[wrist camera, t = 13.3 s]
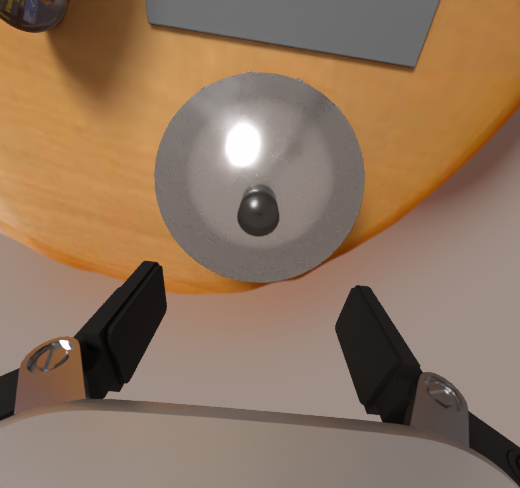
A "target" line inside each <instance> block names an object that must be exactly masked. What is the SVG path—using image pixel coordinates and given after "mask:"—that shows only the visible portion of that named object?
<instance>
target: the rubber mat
mask: <svg viewBox="0 0 520 488" xmlns="http://www.w3.org/2000/svg"><path fill="white" fill-rule="evenodd" d="M438 3H439V0H146V8H147V19H148V23H149V24H154V25H160V26H166V27H172V28H178V29H184V30H190V31H196V32H202V33H208V34H214V35H220V36H226V37H232V38H238V39H244V40H250V41H256V42H262V43H268V44H274V45H280V46H286V47H292V48H298V49H304V50H310V51H316V52H322V53H328V54H334V55H340V56H346V57H352V58H358V59H364V60H370V61H376V62H382V63H388V64H394V65H400V66H406V67H412V68H413V67H415V65H416V62H417V60H418V57H419V54H420V51H421V49H422V46H423V43H424V41H425V38H426V35H427V33H428V30H429V27H430V25H431V22H432V19H433V17H434V14H435V11H436V9H437V6H438Z"/></svg>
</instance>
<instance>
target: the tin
mask: <svg viewBox="0 0 520 488" xmlns="http://www.w3.org/2000/svg"><path fill="white" fill-rule="evenodd" d="M68 4H69V0H0V18H1V19H2V20H3V21H4V22H6V23H7V24H9V25H11V26H13V27H14V28H17V29H19V30H22V31H26V32H32V33H39V32H44V31H47V30H50V29H52V28H53V27H55V26H56V25H57V24H58V23H59V22H60V21H61V20H62V18H63V17H64V15H65V13H66V11H67V8H68Z"/></svg>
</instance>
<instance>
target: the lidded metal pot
mask: <svg viewBox="0 0 520 488" xmlns="http://www.w3.org/2000/svg"><path fill="white" fill-rule="evenodd" d="M154 176H155V191H156V197H157V202H158V206H159V209H160V212H161V215H162V217H163V220H164V222H165V224H166V226H167V228H168V229H169V231H170V233H171V234H172V236H173V238H174V239H175V240H176V241H177V243H178V244H179V245H180V247H181V248H182V249H183V250H184V251H185V252H186V253H187V254H188V255H189V256H191V257H192V258H193V259H194V260H195V261H197V262H198V263H199V264H201V265H203V266H204V267H206V268H207V269H209V270H211V271H213V272H215V273H217V274H219V275H222V276H225V277H227V278H231V279H235V280H239V281H245V282H255V283H265V282H275V281H282V280H285V279H289V278H293V277H295V276H298V275H301V274H303V273H305V272H307V271H309V270H311V269H313V268H314V267H316V266H317V265H319V264H320V263H322V262H323V261H324V260H326V259H327V258H328V257H329V256H330V255H332V254H333V252H334V251H335V250H336V249H337V248H338V247H339V246H340V245H341V244H342V242H343V241H344V240H345V238H346V237H347V235H348V234H349V232H350V230H351V229H352V227H353V225H354V223H355V221H356V218H357V216H358V213H359V210H360V207H361V203H362V199H363V193H364V179H365V173H364V164H363V157H362V152H361V148H360V145H359V143H358V140H357V138H356V136H355V133H354V131H353V129H352V127H351V126H350V124H349V122H348V121H347V119H346V117H345V116H344V115H343V114H342V113H341V110H340V109H339V107H336V105H335V104H334V103H332V102H331V101H330V100H329V99H328V98H327V97H326V96H325V95H323V94H322V93H321V92H319V91H317V90H316V89H314V88H313V87H311V86H310V85H308V84H306V83H304V82H303V80H300V79H299V78H298V79H294V78H291V77H287V76H283V75H278V74H271V73H255V72H253V71H251V72H249V71H247V73H245V74H239V75H236V76H232V77H228V78H224V79H222V80H220V81H217V82H215V83H213V84H211V85H209V86H207V87H205V86H204V87H203V88H202V89H200V91H199V92H198V93H196V94H195V95H194V96H193V97H192V98H190V99H189V100H188V101H187V102H186V103H185V104H184V105H183V106H182V107H181V108H180V110H179V111H178V112H177V113H176V115H175V116H174V117H173V118H172V120H171V121H170V123H169V124H168V127H167V129H166V130H165V132H164V135H163V137H162V140H161V143H160V145H159V149H158V153H157V157H156V163H155V174H154Z"/></svg>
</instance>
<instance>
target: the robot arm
mask: <svg viewBox="0 0 520 488" xmlns="http://www.w3.org/2000/svg"><path fill="white" fill-rule="evenodd" d="M166 309H167V303H166V295H165V286H164V278H163V269H162V266H160V265H159V264H158V262H152V261H144V262H142V264H141V265H140V266H139V267H138V268H137V269H136V270H135V271H134V273H133V274H132V275H131V276H130V277H129V278H128V279H127V281H126V282H125V283H124V284H123V285H122V286H121V287H119V288H118V289H117V290H116V291H115V292H114V293H113V294H112V295H111V296H110V297H109V298H108V300H107V301H106V302H105V303H104V304H103V305H102V306H101V307H100V308H99V309H98V311H97V312H96V313H95V314H94V315H93V316H92V317H91V318H90V319H89V321H88V322H87V323H86V324H85V325H84V326H83V327H82V329H81V330H80V331H79V332H78V333H77V334H76V335H75V336H74V337H59V338H55V339H52V340H49V341H47V342H45V343H43V344H41V345H39V346H38V347H36V348H35V349H33V350H32V351H31V352H30V353H29V354H28V355H27V356H26V357H25V358H24V360H23V361H22V362H21V365H20V368H18V369H16V370H14V371H12V372H9V373H7V374H5V375H3V376H0V488H520V447H518V446H517V445H516V444H514V443H513V442H511V441H510V440H508V439H507V438H506V437H504V436H503V435H501V434H500V433H499V432H497V431H496V430H494V429H493V428H491V427H490V426H489V425H487V424H486V423H484V422H483V421H481V420H480V419H479V418H477V417H476V416H475V415H473V414H472V413H470V412H469V411H468V406H467V402H466V401H465V399H464V397H463V395H462V394H461V393H460V392H459V390H458V389H457V388H456V387H455V386H453V384H452V383H450V382H449V381H448V380H446V379H445V378H443V377H441V376H439V375H437V374H435V373H431V372H424V373H423V372H422V371H421V369H420V364H419V363H418V361H417V360H416V358H415V357H414V355H413V354H412V352H411V351H410V349H409V348H408V346H407V344H406V343H405V341H404V339H403V338H402V336H401V335H400V333H399V332H398V330H397V329H396V327H395V325H394V324H393V323H392V321H391V319H390V318H389V316H388V315H387V313H386V312H385V310H384V308H383V307H382V305H381V304H380V302H379V301H378V299H377V297H376V296H375V294H374V293H373V291H372V290H371V288H370V287H368V286H360V285H357V286H355V288H352V289H351V291H350V293H349V295H348V297H347V300H346V302H345V304H344V307H343V309H342V311H341V313H340V316H339V318H338V320H337V322H336V325H335V330H336V333H337V336H338V340H339V342H340V345H341V348H342V351H343V354H344V357H345V360H346V363H347V366H348V369H349V372H350V375H351V378H352V380H353V384H354V386H355V389H356V392H357V395H358V398H359V401H360V403H361V404H362V405H364V407H365V410H366V412H367V414H375V415H380V417H381V419H382V422H374V421H366V420H355V419H346V418H335V417H324V416H313V415H302V414H291V413H280V412H268V411H256V410H244V409H234V408H222V407H210V406H198V405H186V404H172V403H161V402H146V401H130V400H115V399H103V398H105V396H106V394H107V393H108V391H115V392H120V390H121V388H122V387H123V385H124V383H128V382H129V381H130V379H131V377H132V375H133V374H134V372H135V370H136V368H137V366H138V364H139V362H140V360H141V358H142V357H143V355H144V353H145V351H146V349H147V347H148V345H149V343H150V341H151V339H152V337H153V336H154V334H155V332H156V330H157V328H158V326H159V324H160V322H161V321H162V318H163V317H164V315H165V313H166Z"/></svg>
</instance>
